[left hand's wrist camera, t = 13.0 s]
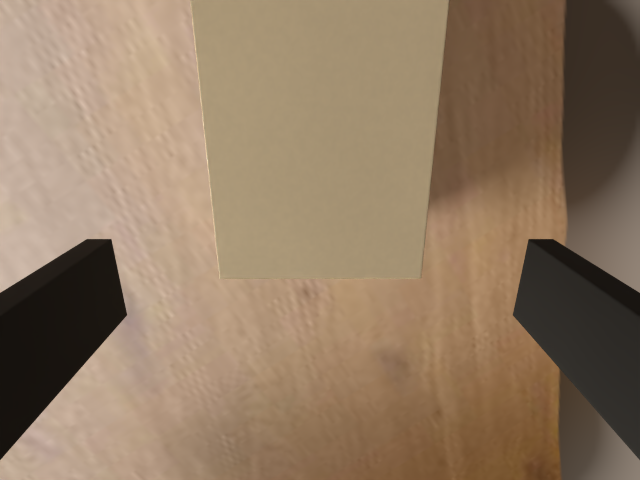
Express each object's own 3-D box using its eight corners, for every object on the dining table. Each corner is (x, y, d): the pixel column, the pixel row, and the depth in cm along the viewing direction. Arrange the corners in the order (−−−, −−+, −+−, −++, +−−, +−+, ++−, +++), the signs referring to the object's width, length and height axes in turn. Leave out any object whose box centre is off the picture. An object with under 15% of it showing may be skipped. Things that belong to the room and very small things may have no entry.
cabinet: (226, -130, 22) (158, -295, 12) (412, -130, 22) (480, -296, 12) (251, 221, 29) (219, 279, 20) (389, 221, 29) (421, 279, 20)
